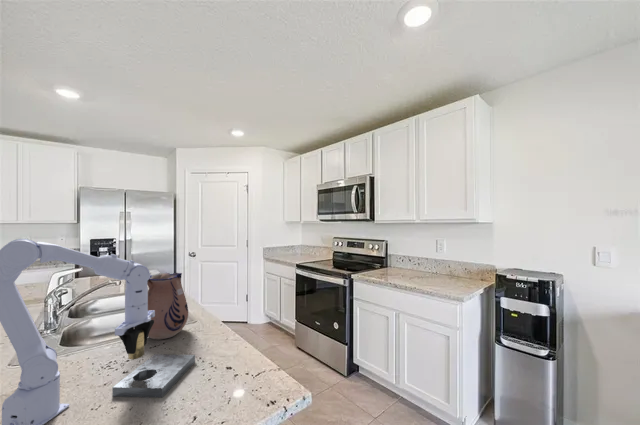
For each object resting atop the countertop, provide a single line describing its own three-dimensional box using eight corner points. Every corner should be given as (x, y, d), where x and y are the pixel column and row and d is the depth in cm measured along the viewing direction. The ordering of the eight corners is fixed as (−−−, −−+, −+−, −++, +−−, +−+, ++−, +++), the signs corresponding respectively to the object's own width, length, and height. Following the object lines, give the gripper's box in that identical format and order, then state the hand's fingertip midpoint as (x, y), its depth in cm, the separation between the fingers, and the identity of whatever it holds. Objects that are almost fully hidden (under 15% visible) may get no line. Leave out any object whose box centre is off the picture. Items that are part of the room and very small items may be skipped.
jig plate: (162, 397, 74) (162, 388, 75) (112, 396, 75) (112, 387, 75) (194, 362, 92) (195, 354, 93) (154, 361, 93) (154, 354, 93)
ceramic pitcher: (197, 331, 117) (197, 273, 117) (144, 353, 99) (145, 283, 99) (173, 323, 126) (173, 269, 126) (121, 342, 108) (121, 278, 108)
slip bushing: (138, 359, 80) (137, 334, 80) (124, 359, 80) (124, 334, 80) (147, 352, 84) (147, 329, 84) (134, 352, 84) (134, 329, 84)
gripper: (132, 312, 75) (132, 362, 75) (164, 296, 89) (164, 338, 89) (107, 312, 75) (107, 362, 75) (142, 296, 90) (142, 338, 89)
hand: (136, 349), depth 82 cm, fingers closed on slip bushing, 4 cm apart
